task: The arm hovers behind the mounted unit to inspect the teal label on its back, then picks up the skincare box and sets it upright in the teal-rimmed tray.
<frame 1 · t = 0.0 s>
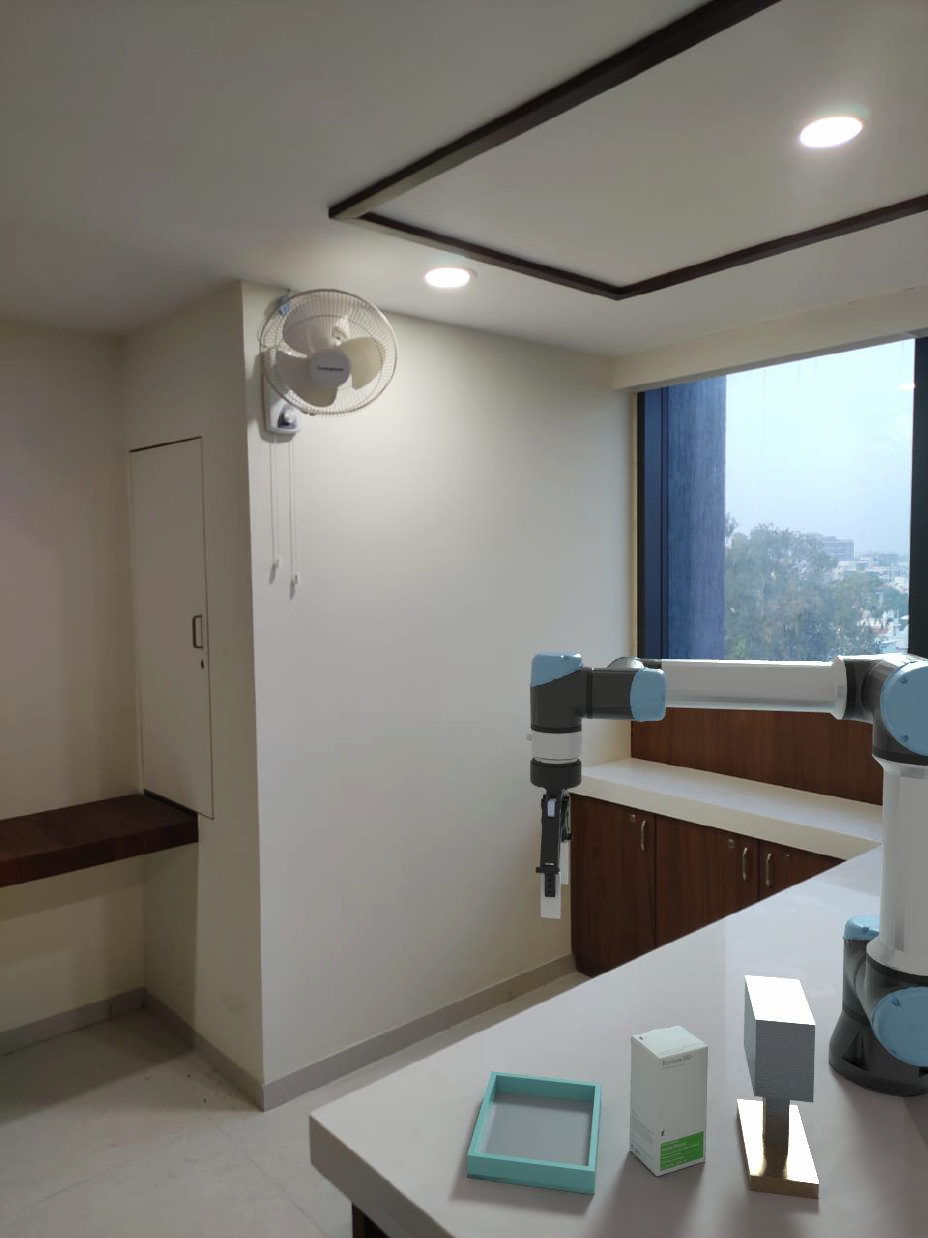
hand: (555, 899, 133), 28 cm above the counter, fingers open, 13 cm apart
mounted unit: (774, 1153, 119), on the counter
skincare box: (666, 1156, 118), on the counter
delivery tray: (538, 1138, 122), on the counter
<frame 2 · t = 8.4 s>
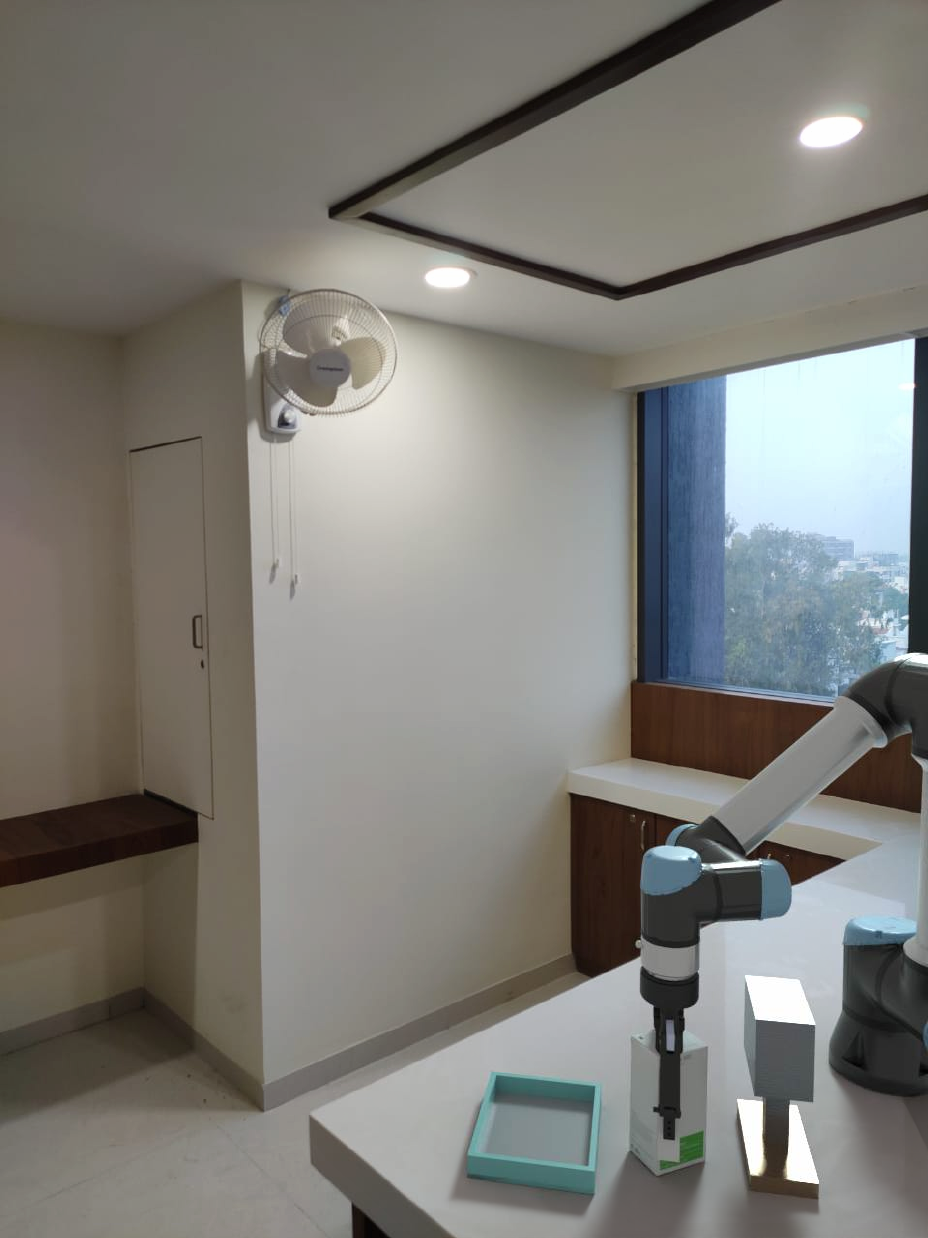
hand: (667, 1133, 118), 3 cm above the counter, fingers closed on skincare box, 10 cm apart
skincare box: (666, 1155, 119), on the counter, touching gripper
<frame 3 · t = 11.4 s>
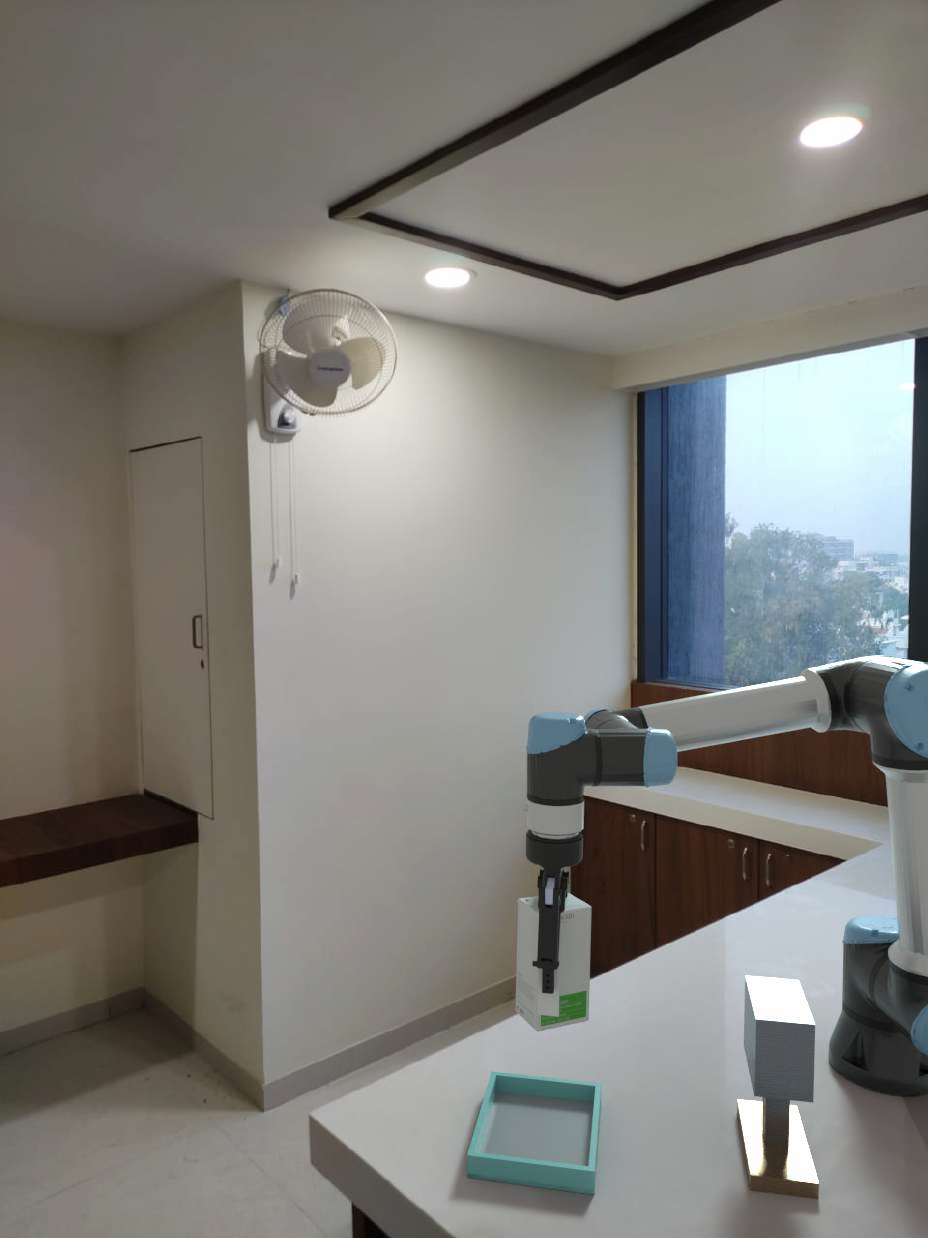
hand: (551, 995, 120), 20 cm above the counter, fingers closed on skincare box, 10 cm apart
skincare box: (551, 1017, 120), point 17 cm above the counter, touching gripper
when the fingers open (5 cm above the counter, at t = 15.0 s): skincare box drops 1 cm, resting on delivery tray.
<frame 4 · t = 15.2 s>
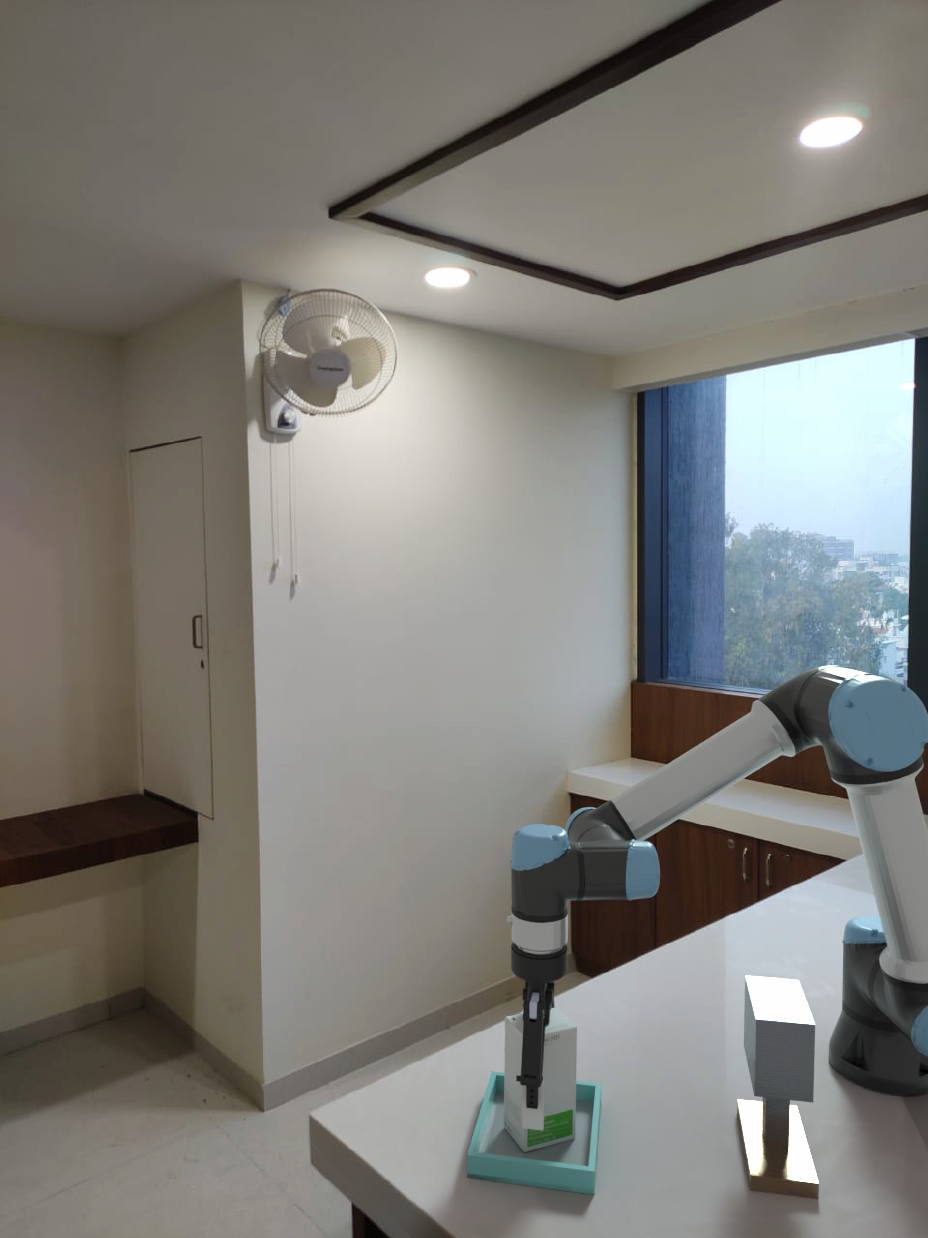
hand: (538, 1098, 121), 6 cm above the counter, fingers open, 12 cm apart
skincare box: (539, 1133, 122), resting on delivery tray
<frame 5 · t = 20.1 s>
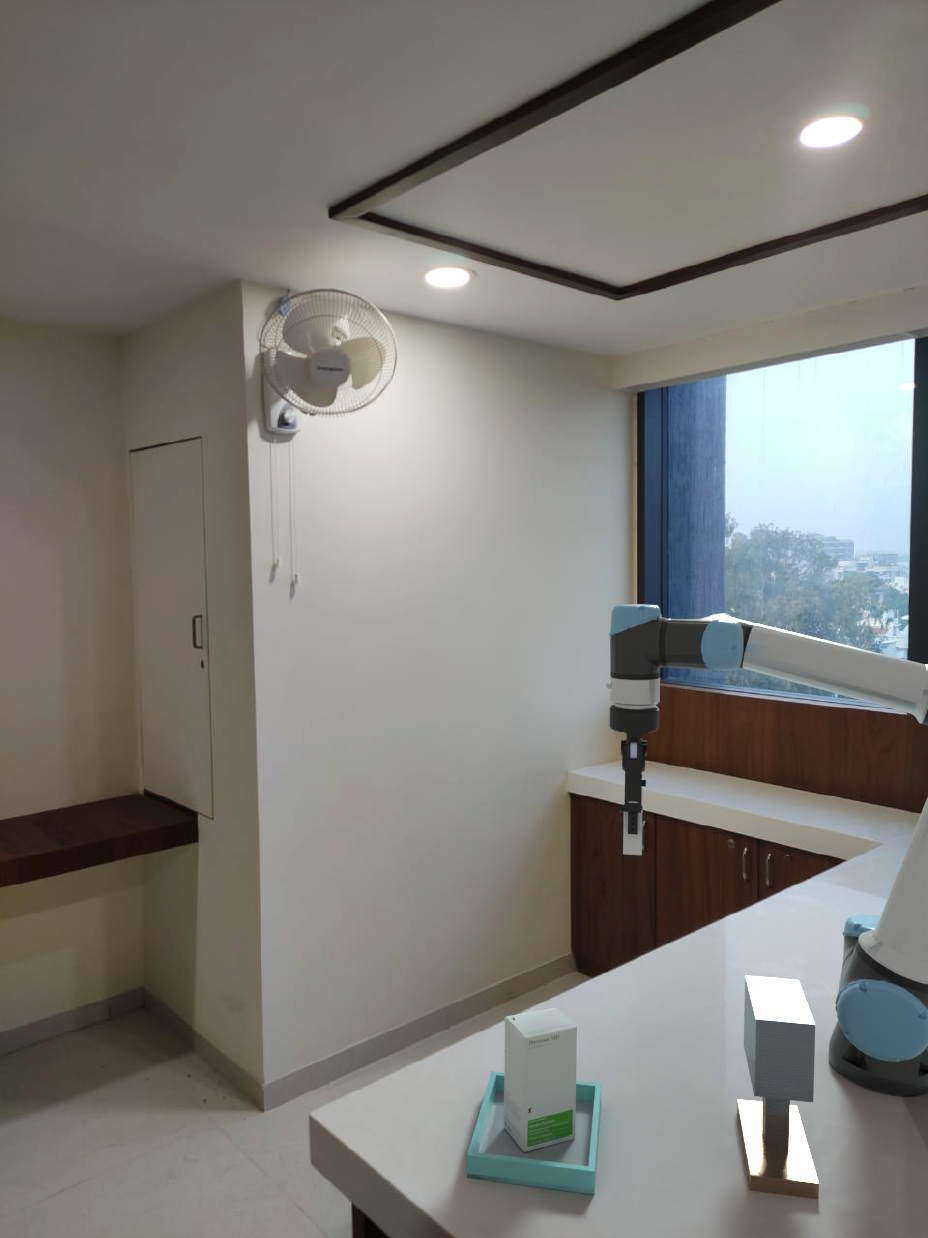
hand: (632, 840, 140), 35 cm above the counter, fingers open, 13 cm apart
nothing on the counter moved.
at the end: skincare box inside the target area on the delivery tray (0.5 cm from its centre), point 0.4 cm above the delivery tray's base; skincare box tilted 0°; the gripper is holding nothing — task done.
